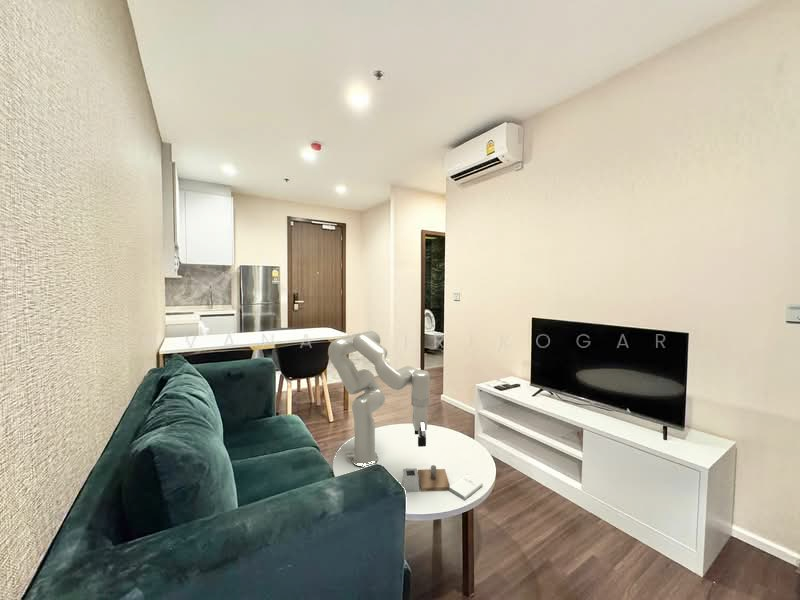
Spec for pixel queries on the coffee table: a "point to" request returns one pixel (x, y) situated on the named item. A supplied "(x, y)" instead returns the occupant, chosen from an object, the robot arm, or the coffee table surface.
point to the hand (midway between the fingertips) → (420, 439)
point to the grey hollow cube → (411, 480)
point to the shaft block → (433, 479)
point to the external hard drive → (465, 486)
